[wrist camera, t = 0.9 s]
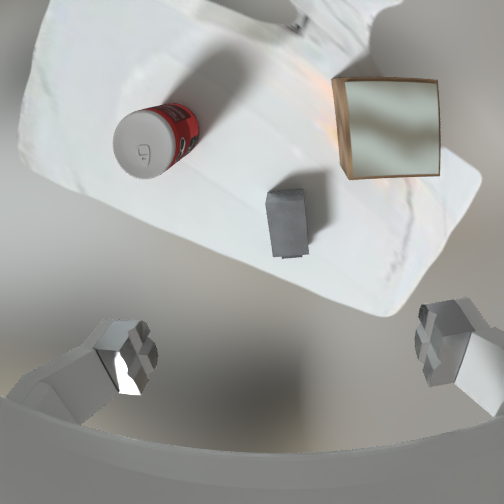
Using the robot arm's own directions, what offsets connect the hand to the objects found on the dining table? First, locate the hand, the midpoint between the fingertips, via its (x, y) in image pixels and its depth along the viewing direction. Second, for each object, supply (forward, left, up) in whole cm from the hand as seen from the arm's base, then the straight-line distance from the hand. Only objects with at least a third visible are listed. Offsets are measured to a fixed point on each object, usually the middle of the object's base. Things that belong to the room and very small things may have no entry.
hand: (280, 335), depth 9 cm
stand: (-1, +13, -36) cm, 38 cm away
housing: (+12, -1, -36) cm, 38 cm away
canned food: (-3, -15, -36) cm, 39 cm away
